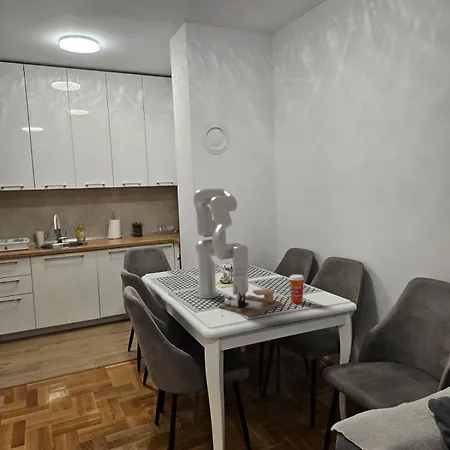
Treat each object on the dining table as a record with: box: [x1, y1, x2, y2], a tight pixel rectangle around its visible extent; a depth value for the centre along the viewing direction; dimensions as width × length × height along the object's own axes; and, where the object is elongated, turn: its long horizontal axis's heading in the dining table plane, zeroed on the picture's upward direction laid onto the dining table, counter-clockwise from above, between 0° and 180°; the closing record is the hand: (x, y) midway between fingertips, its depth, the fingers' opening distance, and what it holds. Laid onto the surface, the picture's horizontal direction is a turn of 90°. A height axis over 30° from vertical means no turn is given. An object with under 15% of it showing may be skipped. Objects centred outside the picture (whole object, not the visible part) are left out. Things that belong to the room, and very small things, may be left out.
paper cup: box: [288, 274, 305, 305], centre depth 208 cm, size 8×8×14 cm
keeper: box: [252, 288, 275, 302], centre depth 208 cm, size 10×6×6 cm, turn 107°
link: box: [224, 296, 262, 310], centre depth 199 cm, size 20×5×4 cm, turn 60°
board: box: [217, 294, 282, 318], centre depth 204 cm, size 22×24×1 cm
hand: (241, 307), depth 195 cm, fingers closed
